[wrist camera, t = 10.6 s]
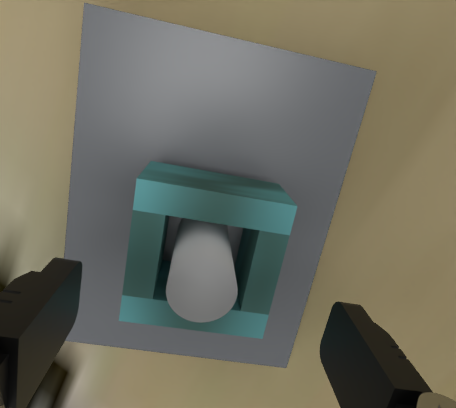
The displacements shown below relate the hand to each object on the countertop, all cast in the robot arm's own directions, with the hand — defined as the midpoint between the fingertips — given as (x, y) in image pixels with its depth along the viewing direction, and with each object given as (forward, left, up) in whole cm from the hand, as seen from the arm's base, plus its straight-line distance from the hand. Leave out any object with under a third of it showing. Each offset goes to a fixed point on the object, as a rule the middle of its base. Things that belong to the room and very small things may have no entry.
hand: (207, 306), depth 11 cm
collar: (0, 0, -6) cm, 6 cm away
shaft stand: (0, 0, -10) cm, 10 cm away
